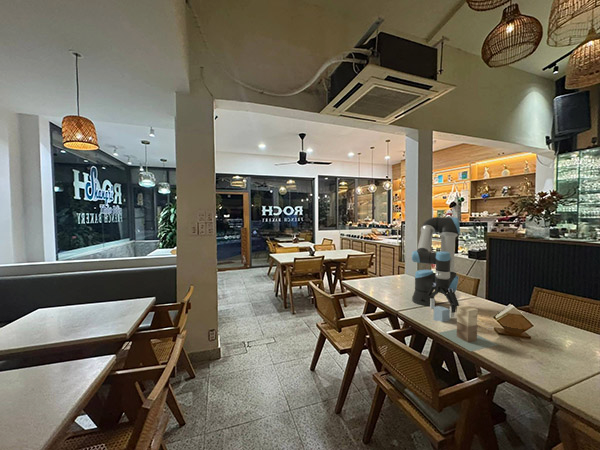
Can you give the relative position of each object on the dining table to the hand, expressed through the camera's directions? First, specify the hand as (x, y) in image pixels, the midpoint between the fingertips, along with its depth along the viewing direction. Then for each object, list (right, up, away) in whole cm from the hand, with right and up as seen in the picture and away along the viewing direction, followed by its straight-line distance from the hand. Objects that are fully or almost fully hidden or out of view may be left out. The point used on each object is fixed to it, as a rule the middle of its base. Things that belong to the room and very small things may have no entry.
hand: (441, 312), depth 142 cm
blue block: (0, -5, +1) cm, 5 cm away
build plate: (0, -6, -22) cm, 22 cm away
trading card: (+17, -6, -1) cm, 18 cm away
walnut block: (0, -5, -22) cm, 22 cm away
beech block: (0, +3, -22) cm, 22 cm away
